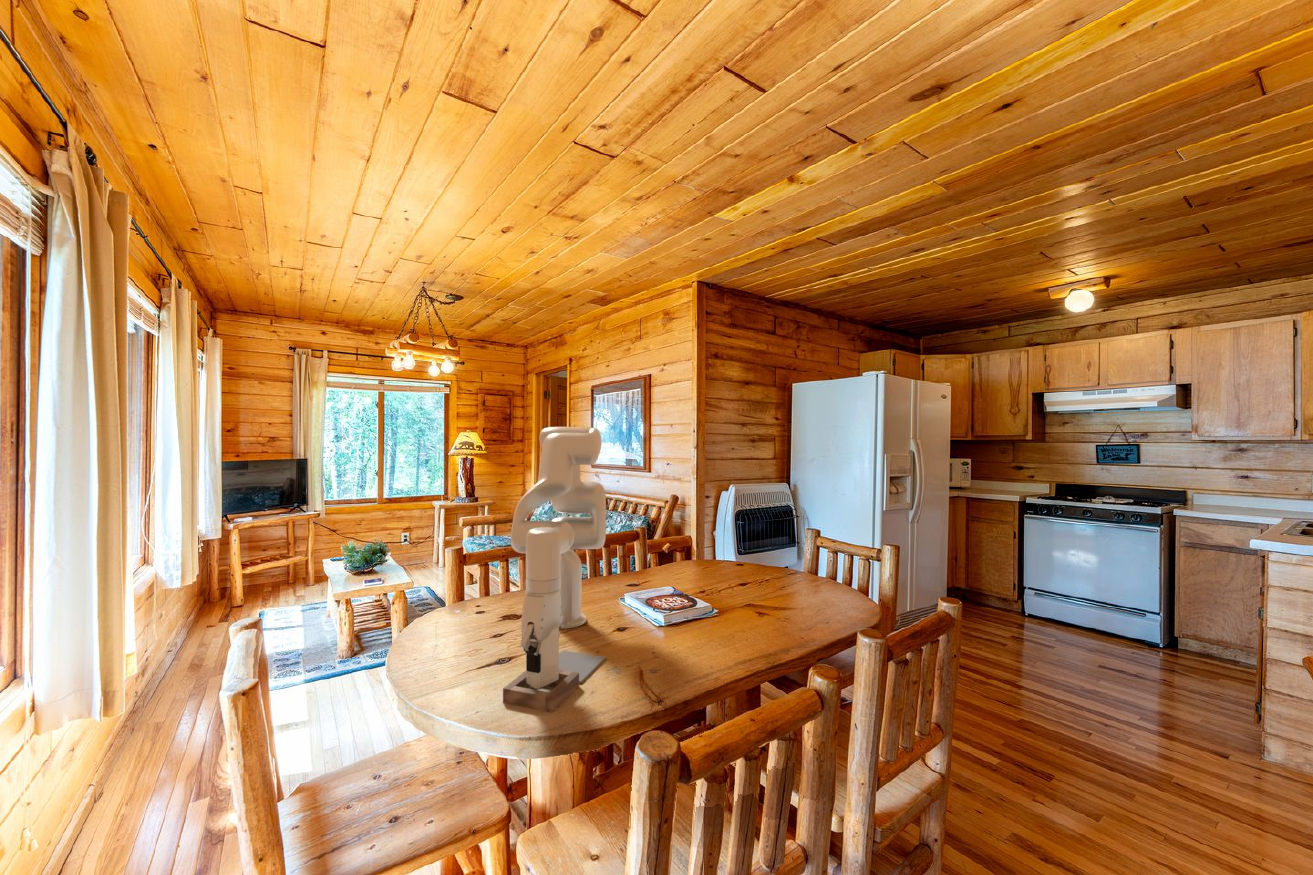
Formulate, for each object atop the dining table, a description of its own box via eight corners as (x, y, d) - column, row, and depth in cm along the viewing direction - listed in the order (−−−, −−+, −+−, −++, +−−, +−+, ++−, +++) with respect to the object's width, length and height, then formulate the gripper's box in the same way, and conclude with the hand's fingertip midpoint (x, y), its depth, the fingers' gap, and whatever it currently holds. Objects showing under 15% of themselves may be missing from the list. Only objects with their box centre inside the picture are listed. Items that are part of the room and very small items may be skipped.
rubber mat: (535, 675, 128) (535, 673, 128) (563, 652, 141) (563, 650, 141) (580, 683, 124) (580, 681, 124) (605, 659, 137) (605, 656, 137)
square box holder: (502, 702, 116) (503, 688, 115) (532, 677, 127) (532, 664, 127) (552, 712, 112) (553, 697, 112) (579, 685, 123) (579, 672, 123)
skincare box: (547, 674, 124) (547, 621, 123) (559, 680, 121) (560, 627, 120) (524, 684, 119) (525, 629, 118) (537, 691, 116) (537, 635, 116)
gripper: (548, 572, 128) (547, 645, 129) (505, 594, 112) (505, 679, 113) (576, 575, 126) (575, 650, 127) (537, 598, 110) (537, 685, 110)
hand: (542, 663), depth 120 cm, fingers closed on skincare box, 7 cm apart
